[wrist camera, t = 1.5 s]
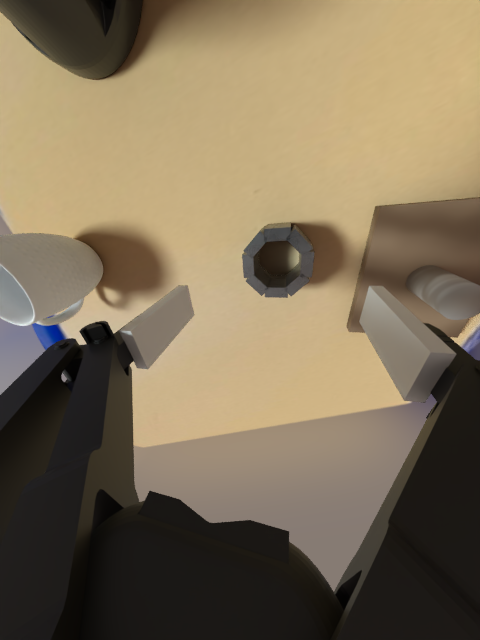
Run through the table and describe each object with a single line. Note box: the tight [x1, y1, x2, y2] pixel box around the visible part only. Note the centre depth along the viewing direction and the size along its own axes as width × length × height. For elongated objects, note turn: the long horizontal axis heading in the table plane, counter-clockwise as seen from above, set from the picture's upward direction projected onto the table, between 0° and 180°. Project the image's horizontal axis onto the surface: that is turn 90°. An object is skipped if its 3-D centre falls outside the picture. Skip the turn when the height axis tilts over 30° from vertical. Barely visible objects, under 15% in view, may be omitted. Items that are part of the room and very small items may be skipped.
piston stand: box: [347, 198, 480, 337], centre depth 21 cm, size 16×13×8 cm
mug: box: [0, 233, 103, 326], centre depth 30 cm, size 15×11×13 cm
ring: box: [242, 223, 315, 298], centre depth 24 cm, size 8×8×5 cm
